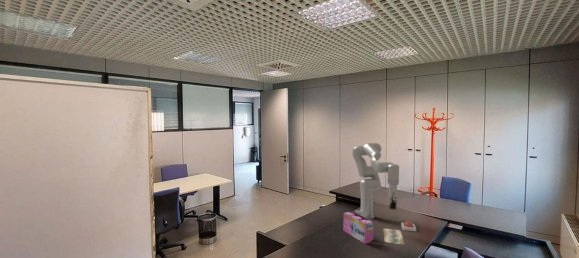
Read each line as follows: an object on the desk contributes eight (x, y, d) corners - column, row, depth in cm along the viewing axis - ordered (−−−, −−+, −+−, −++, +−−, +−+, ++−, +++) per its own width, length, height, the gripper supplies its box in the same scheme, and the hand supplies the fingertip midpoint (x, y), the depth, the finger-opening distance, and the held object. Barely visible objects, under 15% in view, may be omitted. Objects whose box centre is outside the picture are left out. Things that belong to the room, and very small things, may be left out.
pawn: (389, 209, 180) (389, 196, 179) (388, 206, 184) (388, 194, 184) (396, 210, 178) (397, 197, 178) (396, 207, 183) (396, 195, 183)
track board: (384, 243, 167) (384, 241, 167) (383, 229, 188) (383, 228, 188) (404, 246, 163) (404, 244, 163) (400, 231, 184) (400, 230, 184)
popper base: (402, 231, 185) (402, 227, 185) (401, 226, 194) (401, 222, 194) (416, 232, 183) (416, 228, 183) (414, 227, 191) (414, 223, 191)
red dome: (405, 229, 187) (405, 222, 186) (404, 226, 192) (404, 219, 191) (412, 230, 185) (413, 223, 185) (411, 227, 190) (411, 220, 190)
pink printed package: (341, 230, 187) (341, 211, 187) (349, 227, 191) (350, 210, 190) (365, 244, 166) (365, 223, 166) (374, 241, 170) (374, 221, 169)
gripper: (386, 178, 190) (386, 202, 191) (388, 184, 174) (388, 210, 174) (397, 179, 188) (397, 203, 188) (400, 184, 171) (399, 211, 172)
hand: (392, 206), depth 181 cm, fingers closed on pawn, 4 cm apart
